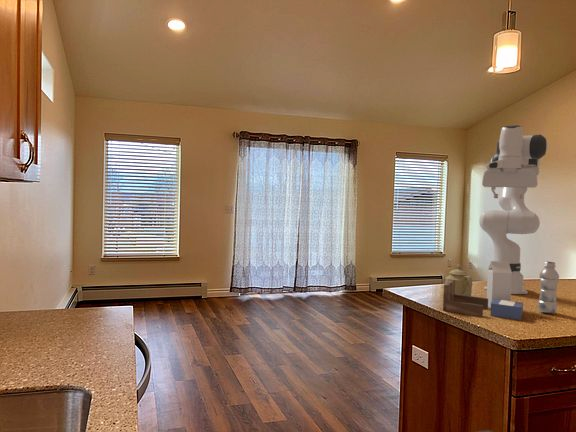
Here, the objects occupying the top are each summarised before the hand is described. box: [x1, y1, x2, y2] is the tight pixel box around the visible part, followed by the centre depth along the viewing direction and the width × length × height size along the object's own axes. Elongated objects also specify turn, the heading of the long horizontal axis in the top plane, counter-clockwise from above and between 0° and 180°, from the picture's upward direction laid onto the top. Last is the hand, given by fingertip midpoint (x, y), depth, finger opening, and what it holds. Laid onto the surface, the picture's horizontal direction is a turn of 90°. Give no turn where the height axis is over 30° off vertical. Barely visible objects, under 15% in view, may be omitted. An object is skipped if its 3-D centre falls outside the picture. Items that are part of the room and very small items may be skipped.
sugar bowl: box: [444, 263, 473, 296], centre depth 196 cm, size 15×11×15 cm
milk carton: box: [486, 260, 512, 309], centre depth 178 cm, size 7×7×19 cm
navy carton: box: [490, 299, 524, 321], centre depth 167 cm, size 9×10×5 cm
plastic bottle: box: [537, 261, 560, 314], centre depth 172 cm, size 6×7×20 cm
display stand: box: [442, 280, 489, 317], centre depth 175 cm, size 15×14×10 cm
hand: (508, 198), depth 181 cm, fingers open, 8 cm apart
